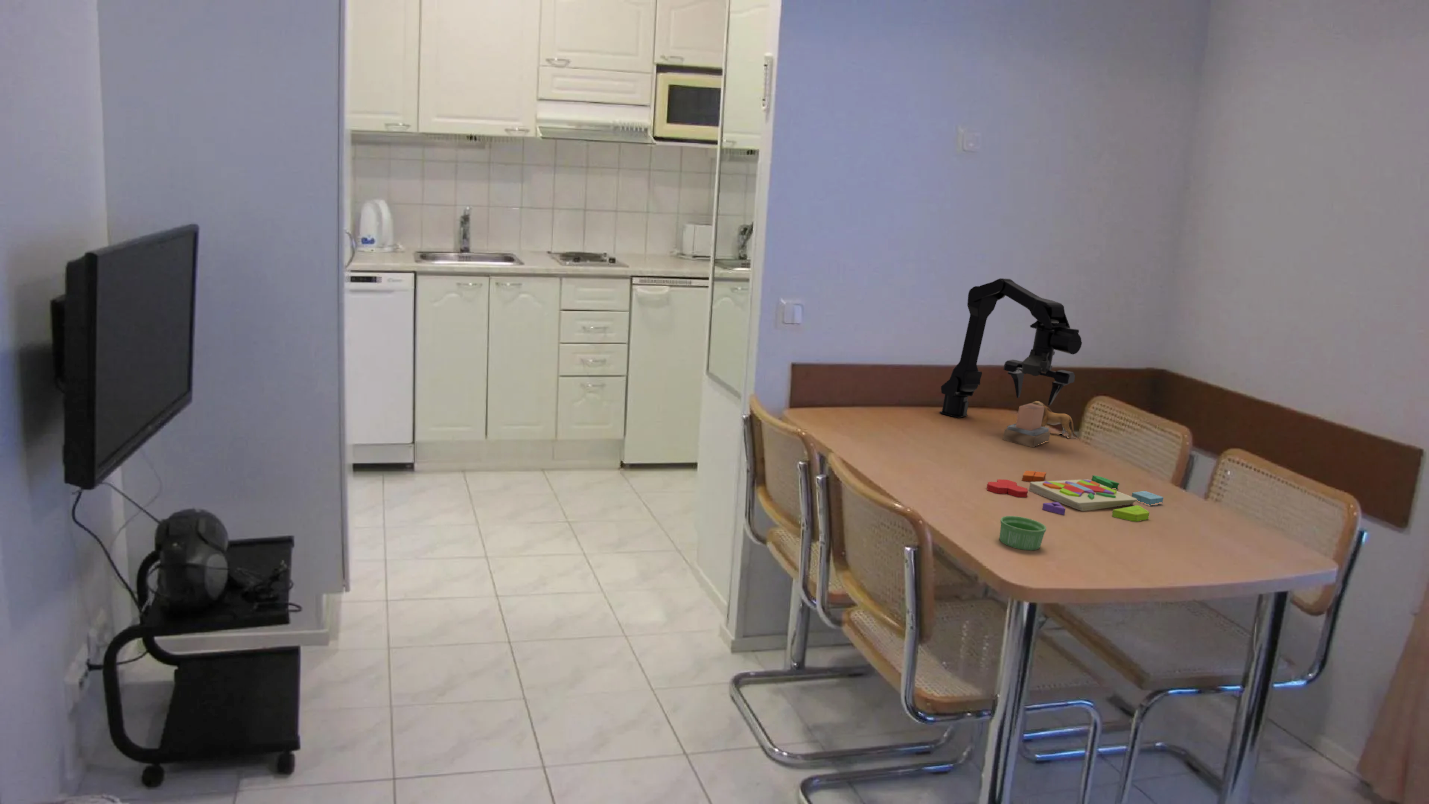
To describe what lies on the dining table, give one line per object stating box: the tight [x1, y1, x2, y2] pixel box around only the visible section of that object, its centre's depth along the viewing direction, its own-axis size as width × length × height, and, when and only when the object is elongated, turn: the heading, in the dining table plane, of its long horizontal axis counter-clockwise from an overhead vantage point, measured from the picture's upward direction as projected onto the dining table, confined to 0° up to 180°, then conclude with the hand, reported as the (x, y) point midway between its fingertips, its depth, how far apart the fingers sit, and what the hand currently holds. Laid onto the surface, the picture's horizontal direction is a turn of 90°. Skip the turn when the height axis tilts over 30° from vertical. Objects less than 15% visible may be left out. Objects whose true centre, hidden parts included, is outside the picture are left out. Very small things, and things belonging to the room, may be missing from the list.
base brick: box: [1002, 423, 1051, 448], centre depth 326 cm, size 9×12×4 cm
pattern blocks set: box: [986, 470, 1164, 523], centre depth 272 cm, size 38×34×3 cm
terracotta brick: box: [1015, 402, 1045, 431], centre depth 325 cm, size 4×8×6 cm, turn 144°
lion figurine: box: [1031, 400, 1078, 439], centre depth 339 cm, size 15×5×9 cm, turn 74°
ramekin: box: [999, 515, 1047, 551], centre depth 231 cm, size 9×9×4 cm
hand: (1033, 401), depth 324 cm, fingers open, 9 cm apart
